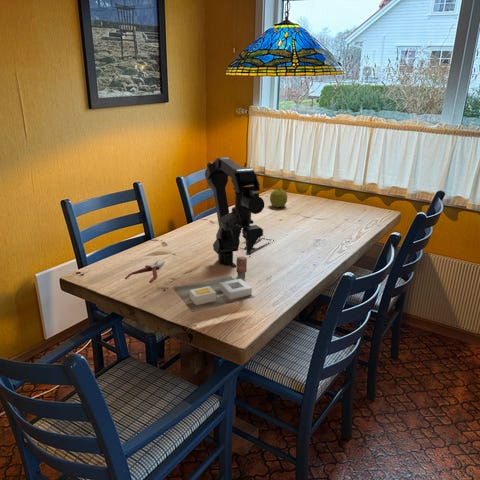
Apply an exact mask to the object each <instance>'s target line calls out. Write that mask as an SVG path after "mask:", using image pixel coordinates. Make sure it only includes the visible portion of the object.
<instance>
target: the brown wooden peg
mask: <svg viewBox="0 0 480 480" xmlns="http://www.w3.org/2000/svg"><path fill="white" fill-rule="evenodd" d="M247 262H248V258H247V257H246V256H238V257H236V268H235V269H236V273H237V276H236V277H237V278H236V279H240V278H241V279H242V280H245V279H246V272H247Z"/></svg>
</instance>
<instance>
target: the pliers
mask: <svg viewBox="0 0 480 480" xmlns="http://www.w3.org/2000/svg"><path fill="white" fill-rule="evenodd" d="M163 265H165V261H162V262H159V260H156V261H155V262H153V263H152V264H151V265H144V266H145V267H144V268H141V269H137V270H136V271H132V272H130V273H128V275H126V277H124V279H125V280H128V279H129V277H131V276H133V275H137V274H138V275H139V274H143V273H144V274H145V273H148V272H149V273H150V272H153V277H152V278H151V279H150V280H149V281H148V283H153V282H154V281H156V280H157V278H158V271H159V270H160V268H161V267H162V266H163Z"/></svg>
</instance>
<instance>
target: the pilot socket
mask: <svg viewBox="0 0 480 480" xmlns="http://www.w3.org/2000/svg"><path fill="white" fill-rule="evenodd" d="M220 290H221V291H222V292H223V293H224V294H225V295H226V296H227V297H228V298H229V299H235V298H239V297H243V296H247V295H253V292H252V291H253V287H252V286H251V285H249V284H248V283H247V282H245V281H244V279H241V278H240V279H238V278H234V280H230V281H225V282H221V283H220Z"/></svg>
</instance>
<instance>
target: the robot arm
mask: <svg viewBox="0 0 480 480" xmlns="http://www.w3.org/2000/svg"><path fill="white" fill-rule="evenodd" d="M204 177H205V179H206V181H207V185H208V186H209V188H210V189H211V190H212V191H213V192H212V193H213V197H214V205H215V209H216V215H217V223H218V229H217V232H216V234H215V235H216V236H215V237H216V239H215V241H214V243H212V244H213V245H212V247H213V251H214V252H215V253H216V254H217V255H218V257H217V258H218V260H217V261H218V262H217V263H218V264H220V265H222V266H226V267H231V268H235V267H236V268H237V264H236V263H234V256H233V255H234V252H238V251H239V248H240V242H241V241H240V236H242V238H243V239H244V240H245V247H246V249H245V250H246V252H247V253H250V251H251V250H253V249H252V248H254V246H255V245H256V244H257V243H256V241H258V239H260V238H262V237H264V229H263V228H262V227H261V226H259V225H257V224H254V220H253V219H252V214H253V215H257V214H260V213H261V212H262V211H263V210H264V208H265V201H264V199H263V198H262V197H261V196H260V193H259V192H260V191H261V189H260V182H259V179H258V177H257V174H256V172H255V169H253V168H252V167H243V166H240V165H239V164H238V163H236V162H235V161H233V160H232V159H231V157H227V156H226V157H224V156H223V157H217V158H216V159H215V160H214V161H213V162H212V163H210V164H209V165H208V166H207V167H206V169H205V171H204ZM229 177H230V178H231V180H230V181H231V183H232V185H233V190H234V207H232V208H231V211H230V209H229V203H228V198H227V197H228V196H227V191H226V187H227V184H228V182H229ZM241 234H242V235H241ZM259 237H260V238H259ZM255 243H256V244H255ZM247 253H246V254H247Z"/></svg>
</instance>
